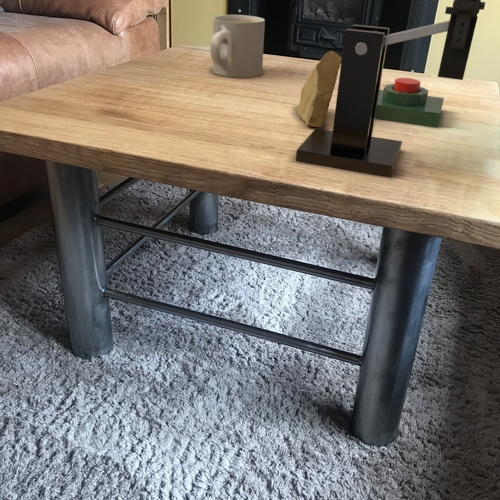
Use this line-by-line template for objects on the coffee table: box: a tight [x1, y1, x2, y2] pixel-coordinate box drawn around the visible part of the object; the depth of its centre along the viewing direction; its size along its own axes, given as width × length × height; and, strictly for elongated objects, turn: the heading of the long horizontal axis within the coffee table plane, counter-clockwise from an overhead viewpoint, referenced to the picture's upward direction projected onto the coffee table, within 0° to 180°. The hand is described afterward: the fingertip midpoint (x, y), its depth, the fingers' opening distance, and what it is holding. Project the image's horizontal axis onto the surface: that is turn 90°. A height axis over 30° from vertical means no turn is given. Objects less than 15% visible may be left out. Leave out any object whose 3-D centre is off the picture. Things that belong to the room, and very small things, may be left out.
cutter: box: [295, 24, 403, 178], centre depth 70 cm, size 12×10×16 cm
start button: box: [393, 77, 421, 93], centre depth 90 cm, size 4×4×2 cm
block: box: [375, 83, 445, 128], centre depth 91 cm, size 12×10×4 cm
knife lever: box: [373, 19, 450, 46], centre depth 65 cm, size 13×5×2 cm, turn 70°
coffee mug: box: [209, 14, 266, 79], centre depth 109 cm, size 13×10×10 cm
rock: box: [295, 50, 342, 129], centre depth 86 cm, size 11×9×10 cm
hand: (451, 72), depth 65 cm, fingers closed on knife lever, 5 cm apart
